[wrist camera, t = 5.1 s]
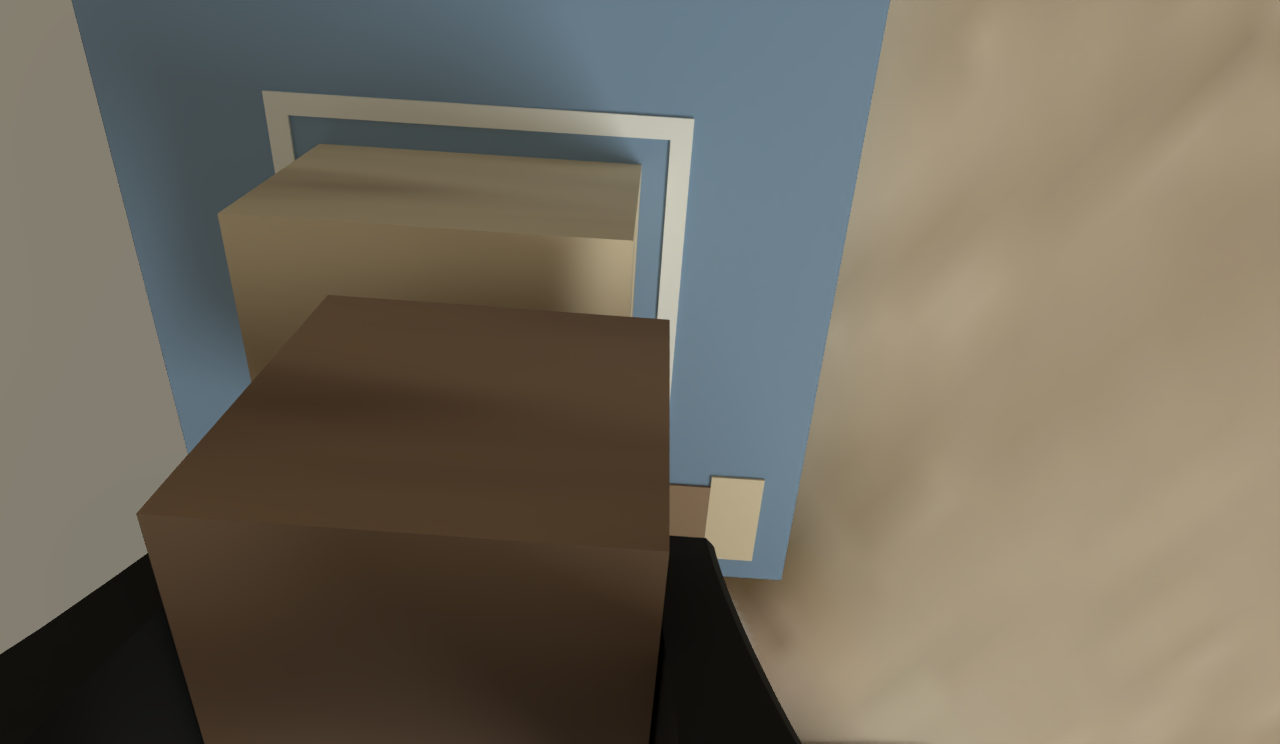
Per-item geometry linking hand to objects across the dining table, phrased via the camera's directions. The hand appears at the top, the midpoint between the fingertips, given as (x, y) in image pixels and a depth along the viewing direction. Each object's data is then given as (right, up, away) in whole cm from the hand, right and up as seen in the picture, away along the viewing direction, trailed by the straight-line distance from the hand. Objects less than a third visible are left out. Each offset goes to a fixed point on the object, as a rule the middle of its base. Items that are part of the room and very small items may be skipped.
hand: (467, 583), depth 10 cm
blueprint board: (-1, +4, +7) cm, 9 cm away
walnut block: (0, +2, +2) cm, 2 cm away
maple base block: (-1, +4, +7) cm, 8 cm away
